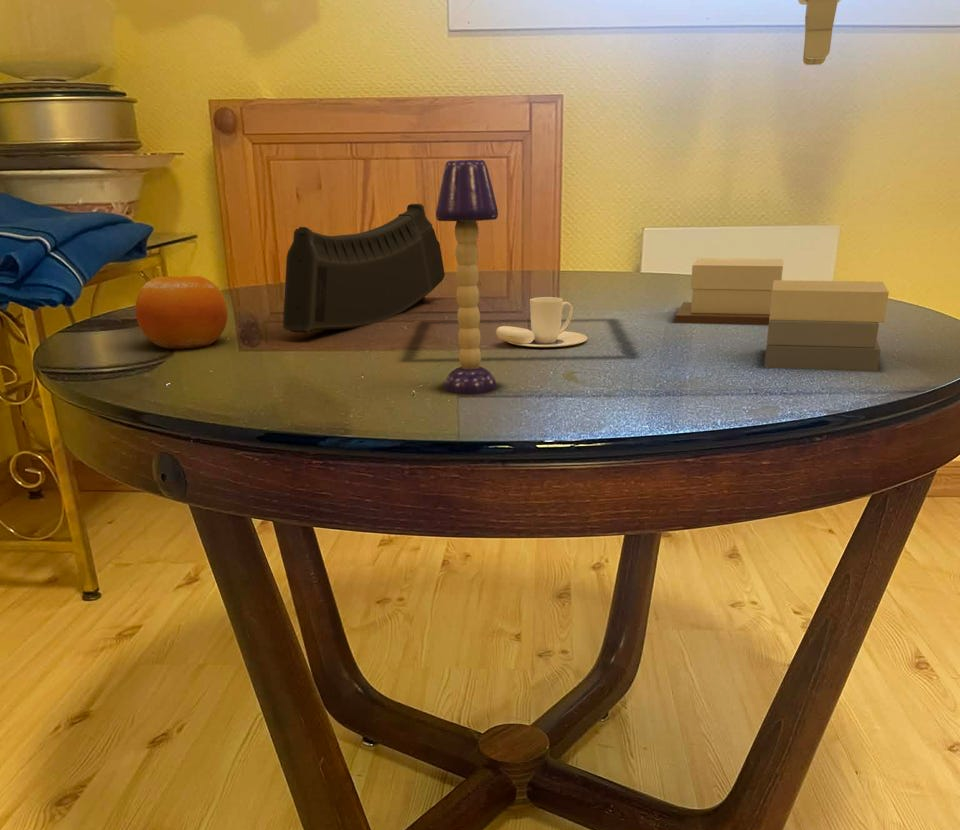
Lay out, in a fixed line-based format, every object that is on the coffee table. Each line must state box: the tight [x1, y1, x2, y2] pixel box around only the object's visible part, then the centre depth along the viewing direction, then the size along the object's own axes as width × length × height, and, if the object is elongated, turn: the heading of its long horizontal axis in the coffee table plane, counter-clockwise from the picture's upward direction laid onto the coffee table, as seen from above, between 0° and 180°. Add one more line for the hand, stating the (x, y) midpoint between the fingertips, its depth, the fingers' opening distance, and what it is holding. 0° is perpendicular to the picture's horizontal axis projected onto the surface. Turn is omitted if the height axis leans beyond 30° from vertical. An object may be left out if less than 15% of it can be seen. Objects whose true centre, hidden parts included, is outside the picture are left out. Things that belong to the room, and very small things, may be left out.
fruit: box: [134, 275, 228, 350], centre depth 99 cm, size 8×8×8 cm
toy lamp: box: [435, 159, 499, 395], centre depth 77 cm, size 5×5×17 cm
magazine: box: [282, 203, 446, 334], centre depth 109 cm, size 17×3×30 cm
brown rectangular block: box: [764, 317, 881, 372], centre depth 86 cm, size 9×7×4 cm
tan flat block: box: [769, 279, 890, 323], centre depth 85 cm, size 9×6×2 cm, turn 75°
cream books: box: [674, 257, 784, 326], centre depth 107 cm, size 12×9×6 cm
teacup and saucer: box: [495, 296, 588, 348], centre depth 97 cm, size 9×8×4 cm
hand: (814, 61), depth 79 cm, fingers open, 8 cm apart
